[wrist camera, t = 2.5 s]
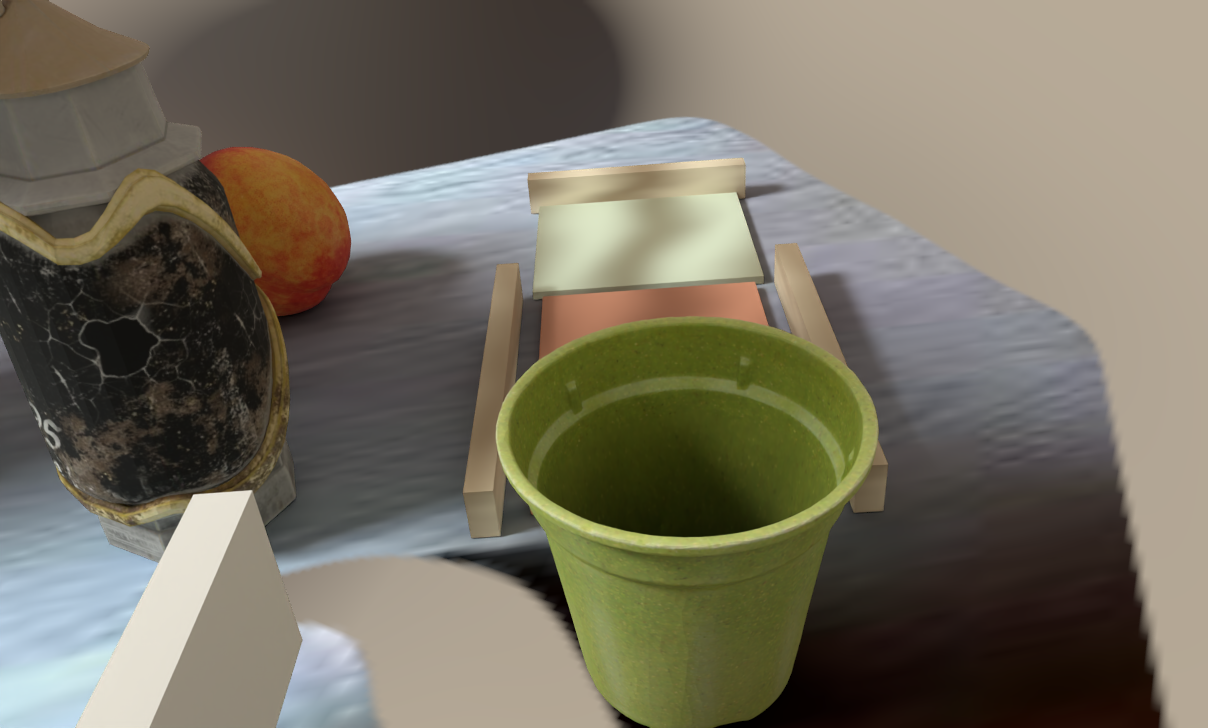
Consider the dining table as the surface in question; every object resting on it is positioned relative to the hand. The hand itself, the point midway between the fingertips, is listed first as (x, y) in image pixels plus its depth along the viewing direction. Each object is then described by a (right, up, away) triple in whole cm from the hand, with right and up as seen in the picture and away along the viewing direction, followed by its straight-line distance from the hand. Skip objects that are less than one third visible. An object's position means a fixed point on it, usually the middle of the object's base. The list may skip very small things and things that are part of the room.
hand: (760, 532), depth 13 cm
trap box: (0, +4, +32) cm, 33 cm away
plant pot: (+1, -6, +16) cm, 18 cm away
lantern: (-17, -3, +24) cm, 29 cm away
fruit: (-18, +5, +37) cm, 41 cm away
